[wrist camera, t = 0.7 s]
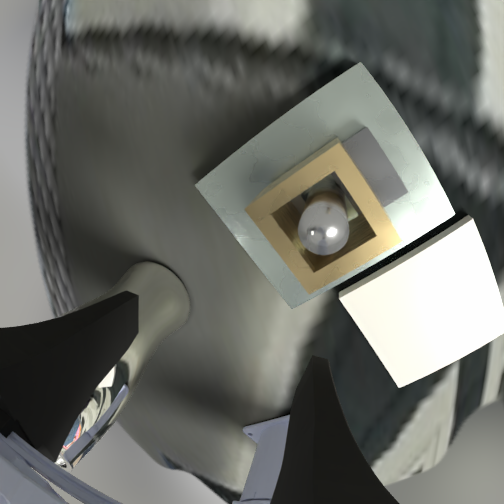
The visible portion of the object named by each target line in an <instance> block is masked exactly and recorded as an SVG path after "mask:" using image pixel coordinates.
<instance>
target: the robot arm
mask: <svg viewBox="0 0 504 504" xmlns="http://www.w3.org/2000/svg"><path fill="white" fill-rule="evenodd" d="M138 333H139V295H137V294H134V293H132V292H129V291H127V290H126V291H124V292H121V293H119V294H116V295H114V296H112V297H109V298H107V299H105V300H102V301H100V302H98V303H95V304H93V305H90V306H88V307H86V308H83V309H80V310H78V311H75V312H72V313H70V314H67V315H64V316H61V317H58V318H55V319H51V320H47V321H43V322H39V323H34V324H29V325H24V326H17V327H7V328H0V504H69V503H67V502H66V501H65V500H64V499H63V498H62V497H61V496H60V495H59V494H57V493H56V492H55V491H54V490H53V489H52V487H51V486H50V485H49V483H48V482H47V481H46V480H45V479H43V478H42V477H41V476H40V475H39V474H41V475H42V476H44V477H45V478H46V479H48V480H49V481H50V482H52V483H53V484H55V485H56V486H58V487H59V488H61V489H62V490H64V491H65V492H67V493H68V494H70V495H71V496H73V497H74V498H76V499H78V500H79V501H81V502H82V503H84V504H122V503H120V502H118V501H116V500H114V499H112V498H110V497H108V496H107V495H105V494H103V493H101V492H100V491H98V490H96V489H94V488H93V487H91V486H89V485H87V484H86V483H84V482H83V481H81V480H79V479H78V478H76V477H75V476H73V475H71V474H70V473H68V472H67V471H65V470H64V469H62V468H61V467H59V466H58V465H56V464H55V462H56V461H57V459H58V456H59V454H60V452H61V450H62V447H63V445H64V443H65V441H66V439H67V437H68V435H69V433H70V431H71V429H72V427H73V425H74V423H75V421H76V420H77V418H78V416H79V414H80V413H81V411H82V409H83V407H84V406H85V404H86V403H87V401H88V399H89V398H90V396H91V395H92V393H93V392H94V390H95V389H96V388H97V386H98V385H99V384H100V383H101V381H102V380H103V379H104V378H105V377H106V376H107V374H108V373H109V372H110V371H111V370H112V368H113V367H114V366H115V365H116V364H117V362H118V361H119V360H120V359H121V358H122V356H123V355H124V354H125V353H126V352H127V350H128V349H129V347H130V346H131V344H132V343H133V341H134V339H135V338H136V336H137V334H138ZM243 432H244V433H245V434H246V435H247V436H248V437H250V438H251V439H252V440H253V441H254V442H256V443H257V444H258V445H257V448H256V452H255V455H254V458H253V461H252V465H251V468H250V471H249V474H248V477H247V480H246V483H245V487H244V490H243V493H242V496H241V499H240V501H233V503H232V504H399V503H398V502H397V501H396V499H394V497H393V496H392V495H391V494H390V493H389V492H388V491H387V489H386V488H385V487H384V486H383V484H382V483H381V482H380V480H379V479H378V478H377V476H376V475H375V474H374V472H373V470H372V469H371V467H370V466H369V464H368V463H367V461H366V459H365V458H364V456H363V454H362V452H361V451H360V449H359V447H358V445H357V443H356V441H355V439H354V437H353V435H352V433H351V430H350V428H349V426H348V423H347V420H346V418H345V415H344V413H343V410H342V407H341V404H340V401H339V398H338V395H337V391H336V388H335V384H334V380H333V377H332V372H331V368H330V363H329V361H328V360H327V359H324V358H320V357H317V356H312V358H311V360H310V362H309V364H308V366H307V368H306V370H305V372H304V374H303V376H302V378H301V380H300V382H299V384H298V386H297V388H296V392H295V396H294V399H293V403H292V407H291V411H290V415H287V416H283V417H280V418H276V419H273V420H269V421H265V422H262V423H258V424H254V425H250V426H246V427H244V428H243ZM31 467H32V468H33V469H34V470H35V471H37V472H38V473H39V474H37V473H36V472H35V471H34V470H33V469H32V468H31Z"/></svg>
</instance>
